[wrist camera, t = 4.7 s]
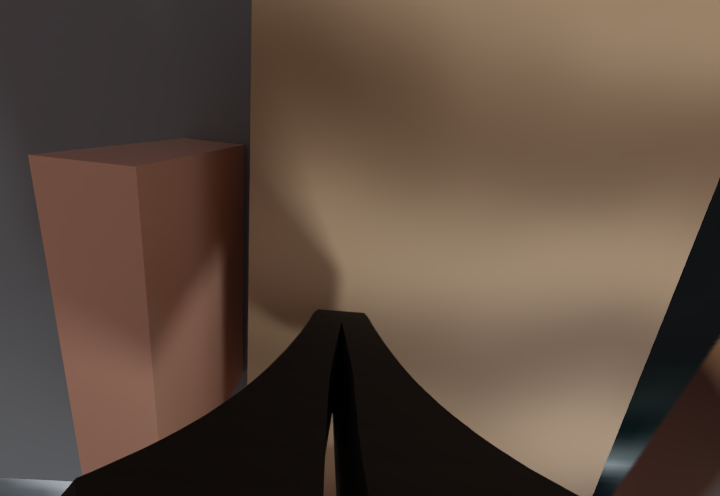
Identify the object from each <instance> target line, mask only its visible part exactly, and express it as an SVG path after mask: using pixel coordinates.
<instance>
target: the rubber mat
mask: <svg viewBox="0 0 720 496" xmlns="http://www.w3.org/2000/svg"><path fill="white" fill-rule="evenodd" d="M251 22H252V0H0V478H18V479H39V480H59V481H74V480H75V479H76V478H77V477H80V476H82V471H81V465H80V459H79V453H78V447H77V441H76V435H75V429H74V423H73V418H72V412H71V406H70V400H69V394H68V388H67V382H66V376H65V370H64V364H63V358H62V353H61V347H60V341H59V335H58V329H57V323H56V317H55V311H54V305H53V299H52V294H51V288H50V282H49V276H48V270H47V264H46V258H45V252H44V246H43V240H42V235H41V229H40V223H39V217H38V211H37V205H36V199H35V193H34V187H33V181H32V175H31V170H30V164H29V158H28V155H31V154H40V153H49V152H58V151H68V150H77V149H86V148H95V147H105V146H114V145H123V144H132V143H141V142H151V141H160V140H169V139H178V138H189V139H199V140H208V141H217V142H226V143H235V144H244V265H243V375H242V377H241V379H240V380H239V382H238V384H237V386H236V388H235V390H234V392H233V394H232V396H231V397H233V396H234V395H235V394H237V393H238V392H239V391H241V390H242V389H243V388H244V387H246V386H247V370H248V283H249V196H250V109H251ZM231 397H230V398H231Z"/></svg>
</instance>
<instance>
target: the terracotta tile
mask: <svg viewBox="0 0 720 496" xmlns="http://www.w3.org/2000/svg"><path fill="white" fill-rule="evenodd" d="M28 158H29V164H30V170H31V175H32V181H33V187H34V193H35V199H36V205H37V211H38V217H39V223H40V229H41V235H42V240H43V246H44V252H45V258H46V264H47V270H48V276H49V282H50V288H51V294H52V299H53V305H54V311H55V317H56V323H57V329H58V335H59V341H60V347H61V353H62V358H63V364H64V370H65V376H66V382H67V388H68V394H69V400H70V406H71V412H72V418H73V423H74V429H75V435H76V441H77V447H78V453H79V459H80V465H81V471H82V475H85V474H87V473H89V472H92V471H94V470H96V469H99V468H101V467H103V466H105V465H108V464H110V463H112V462H114V461H116V460H119V459H121V458H123V457H125V456H128V455H130V454H132V453H134V452H136V451H139V450H141V449H143V448H145V447H147V446H149V445H151V444H153V443H155V442H157V441H159V440H161V439H163V438H165V437H167V436H169V435H171V434H172V433H174V432H176V431H178V430H180V429H182V428H184V427H185V426H187V425H189V424H191V423H192V422H194V421H196V420H198V419H199V418H201V417H203V416H204V415H206V414H207V413H209V412H210V411H212V410H213V409H215V408H216V407H218V406H219V405H221V404H222V403H224V402H225V401H227V400H228V399H230V397H231V396H232V394H233V392H234V390H235V388H236V386H237V384H238V382H239V380H240V379H241V377H242V375H243V265H244V144H235V143H226V142H217V141H208V140H199V139H189V138H178V139H169V140H160V141H151V142H141V143H132V144H123V145H114V146H105V147H95V148H86V149H77V150H68V151H58V152H49V153H40V154H31V155H28Z"/></svg>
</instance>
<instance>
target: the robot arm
mask: <svg viewBox="0 0 720 496" xmlns="http://www.w3.org/2000/svg"><path fill="white" fill-rule="evenodd" d="M332 414H333V437H334V459H335V480H336V496H579V495H577V494H575V493H573V492H571V491H569V490H568V489H566V488H564V487H562V486H560V485H559V484H557V483H555V482H553V481H551V480H550V479H548V478H546V477H544V476H542V475H540V474H539V473H537V472H535V471H533V470H531V469H530V468H528V467H527V466H525V465H523V464H522V463H520V462H519V461H517V460H515V459H514V458H512V457H511V456H509V455H508V454H506V453H505V452H503V451H501V450H500V449H498V448H497V447H495V446H494V445H492V444H491V443H490V442H488V441H487V440H485V439H484V438H482V437H481V436H480V435H478V434H477V433H475V432H474V431H473V430H471V429H470V428H469V427H468V426H466V425H465V424H464V423H462V422H461V421H460V420H459V419H457V418H456V417H455V416H453V415H452V414H451V413H450V412H449V411H447V410H446V409H445V408H444V407H443V406H441V405H440V404H439V403H438V402H437V401H436V400H435V399H434V398H433V397H432V396H431V395H430V394H428V393H427V392H426V391H425V390H424V389H423V388H422V387H421V386H420V385H419V384H418V383H417V382H416V381H415V380H414V379H413V378H412V377H411V375H410V374H409V373H408V372H407V371H406V370H405V369H404V367H403V366H402V365H401V364H400V363H399V361H398V360H397V359H396V357H395V356H394V355H393V353H392V352H391V351H390V350H389V348H388V347H387V346H386V344H385V343H384V341H383V340H382V338H381V337H380V335H379V334H378V332H377V331H376V329H375V328H374V326H373V325H372V323H371V321H370V320H369V318H368V316H367V315H366V314H365V313H359V312H347V311H334V310H322V309H318V310H316V311H315V312H314V313H313V314H312V316H311V318H310V320H309V321H308V323H307V324H306V325H305V327H304V328H303V329H302V331H301V332H300V333H299V334H298V336H297V337H296V338H295V339H294V340H293V342H292V343H291V344H290V345H289V346H288V347H287V349H286V350H285V351H284V352H283V353H282V354H281V355H280V356H279V357H278V358H277V359H276V360H275V361H274V362H273V363H272V364H271V365H270V366H269V367H268V368H267V369H266V370H265V371H263V372H262V373H261V374H260V375H259V376H258V377H257V378H255V379H254V380H253V381H252V382H251V383H249V384H248V385H247V386H246V387H244V388H243V389H242V390H241V391H239V392H238V393H237V394H235V395H234V396H233V397H231V398H230V399H228V400H227V401H225V402H224V403H222V404H221V405H219V406H218V407H216V408H215V409H213V410H212V411H210V412H209V413H207V414H206V415H204V416H203V417H201V418H199V419H198V420H196V421H194V422H192V423H191V424H189V425H187V426H185V427H184V428H182V429H180V430H178V431H176V432H174V433H172V434H171V435H169V436H167V437H165V438H163V439H161V440H159V441H157V442H155V443H153V444H151V445H149V446H147V447H145V448H143V449H141V450H139V451H136V452H134V453H132V454H130V455H128V456H125V457H123V458H121V459H119V460H116V461H114V462H112V463H110V464H108V465H105V466H103V467H101V468H99V469H96V470H94V471H92V472H89V473H87V474H85V475H82V476H80V477H77V478H76V479H75V480H74V481H73V482H72V483H71V485H70V486H69V487H68V488H67V489H66V491H65V492H64V493H63V494H62V495H61V496H323V494H324V470H325V454H326V448H327V442H328V436H329V430H330V424H331V418H332Z"/></svg>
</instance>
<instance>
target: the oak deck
mask: <svg viewBox="0 0 720 496" xmlns="http://www.w3.org/2000/svg"><path fill="white" fill-rule="evenodd" d="M719 178H720V0H252V22H251V109H250V196H249V283H248V370H247V385H248V384H249V383H251V382H252V381H253V380H254V379H255V378H257V377H258V376H259V375H260V374H261V373H262V372H263V371H265V370H266V369H267V368H268V367H269V366H270V365H271V364H272V363H273V362H274V361H275V360H276V359H277V358H278V357H279V356H280V355H281V354H282V353H283V352H284V351H285V350H286V349H287V347H288V346H289V345H290V344H291V343H292V342H293V340H294V339H295V338H296V337H297V336H298V334H299V333H300V332H301V331H302V329H303V328H304V327H305V325H306V324H307V323H308V321H309V320H310V318H311V316H312V314H313V313H314V312H315V311H316V310H318V309H322V310H334V311H347V312H359V313H365V314H366V315H367V316H368V318H369V320H370V321H371V323H372V325H373V326H374V328H375V329H376V331H377V332H378V334H379V335H380V337H381V338H382V340H383V341H384V343H385V344H386V346H387V347H388V348H389V350H390V351H391V352H392V353H393V355H394V356H395V357H396V359H397V360H398V361H399V363H400V364H401V365H402V366H403V367H404V369H405V370H406V371H407V372H408V373H409V374H410V375H411V377H412V378H413V379H414V380H415V381H416V382H417V383H418V384H419V385H420V386H421V387H422V388H423V389H424V390H425V391H426V392H427V393H428V394H430V395H431V396H432V397H433V398H434V399H435V400H436V401H437V402H438V403H439V404H440V405H441V406H443V407H444V408H445V409H446V410H447V411H449V412H450V413H451V414H452V415H453V416H455V417H456V418H457V419H459V420H460V421H461V422H462V423H464V424H465V425H466V426H468V427H469V428H470V429H471V430H473V431H474V432H475V433H477V434H478V435H480V436H481V437H482V438H484V439H485V440H487V441H488V442H490V443H491V444H492V445H494V446H495V447H497V448H498V449H500V450H501V451H503V452H505V453H506V454H508V455H509V456H511V457H512V458H514V459H515V460H517V461H519V462H520V463H522V464H523V465H525V466H527V467H528V468H530V469H531V470H533V471H535V472H537V473H539V474H540V475H542V476H544V477H546V478H548V479H550V480H551V481H553V482H555V483H557V484H559V485H560V486H562V487H564V488H566V489H568V490H569V491H571V492H573V493H575V494H577V495H579V496H592V495H593V493H594V490H595V488H596V485H597V483H598V480H599V478H600V475H601V473H602V470H603V468H604V465H605V463H606V460H607V458H608V455H609V453H610V450H611V448H612V445H613V443H614V440H615V438H616V435H617V433H618V430H619V428H620V425H621V423H622V420H623V418H624V415H625V413H626V410H627V408H628V405H629V403H630V400H631V398H632V395H633V393H634V390H635V388H636V385H637V383H638V380H639V378H640V375H641V373H642V371H643V368H644V366H645V363H646V361H647V358H648V356H649V353H650V351H651V348H652V346H653V343H654V341H655V338H656V336H657V333H658V331H659V328H660V326H661V323H662V321H663V318H664V316H665V313H666V311H667V308H668V306H669V303H670V301H671V298H672V296H673V293H674V291H675V288H676V286H677V283H678V281H679V278H680V276H681V273H682V271H683V268H684V266H685V263H686V261H687V258H688V256H689V253H690V251H691V248H692V246H693V243H694V241H695V238H696V236H697V233H698V231H699V228H700V226H701V223H702V221H703V218H704V216H705V213H706V211H707V208H708V206H709V203H710V201H711V198H712V196H713V193H714V191H715V188H716V186H717V183H718V181H719ZM323 496H336V480H335V459H334V437H333V414H332V418H331V424H330V430H329V436H328V442H327V448H326V454H325V470H324V494H323Z"/></svg>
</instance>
